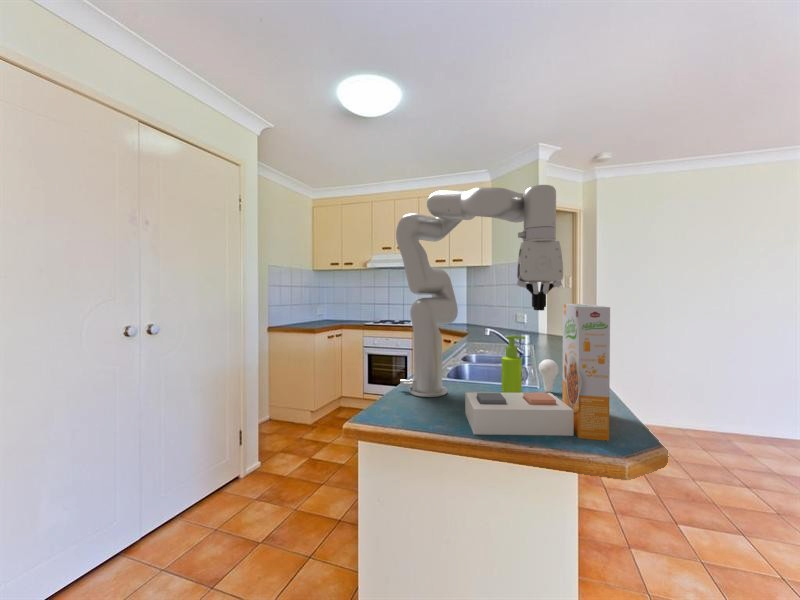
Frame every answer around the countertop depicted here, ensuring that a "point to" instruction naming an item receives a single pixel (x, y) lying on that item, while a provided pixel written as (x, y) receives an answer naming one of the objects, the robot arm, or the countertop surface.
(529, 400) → the key terracotta
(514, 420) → the key panel
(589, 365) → the cereal box
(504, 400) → the key charcoal
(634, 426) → the countertop surface
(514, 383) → the soap dispenser
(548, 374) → the lightbulb
